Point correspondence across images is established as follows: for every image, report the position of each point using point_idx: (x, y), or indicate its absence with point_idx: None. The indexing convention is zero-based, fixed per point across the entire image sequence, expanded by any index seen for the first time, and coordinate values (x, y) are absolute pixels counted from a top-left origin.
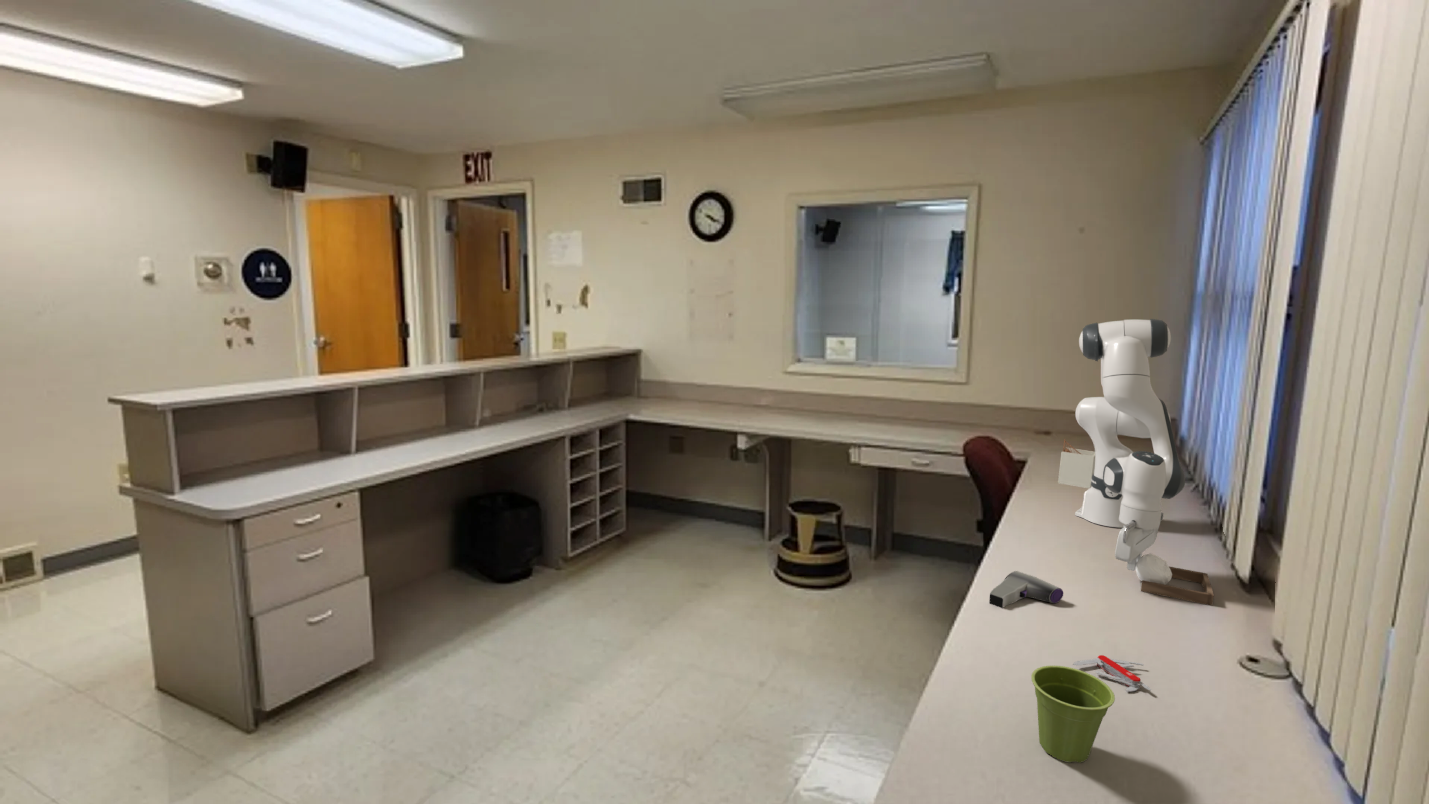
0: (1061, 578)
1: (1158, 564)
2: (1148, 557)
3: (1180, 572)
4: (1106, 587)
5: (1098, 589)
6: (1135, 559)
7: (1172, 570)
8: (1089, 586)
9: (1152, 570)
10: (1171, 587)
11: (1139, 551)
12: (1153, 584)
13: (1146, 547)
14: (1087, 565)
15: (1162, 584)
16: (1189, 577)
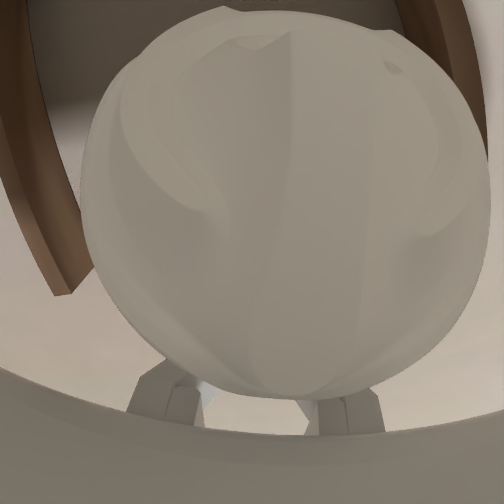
0: (439, 422)
1: (432, 159)
2: (383, 354)
3: (5, 66)
4: (470, 326)
5: (497, 337)
6: (375, 397)
7: (11, 108)
8: (479, 363)
9: (490, 197)
10: (466, 15)
11: (450, 479)
12: (484, 141)
13: (98, 446)
14: (244, 420)
15: (460, 76)
16: (14, 24)
